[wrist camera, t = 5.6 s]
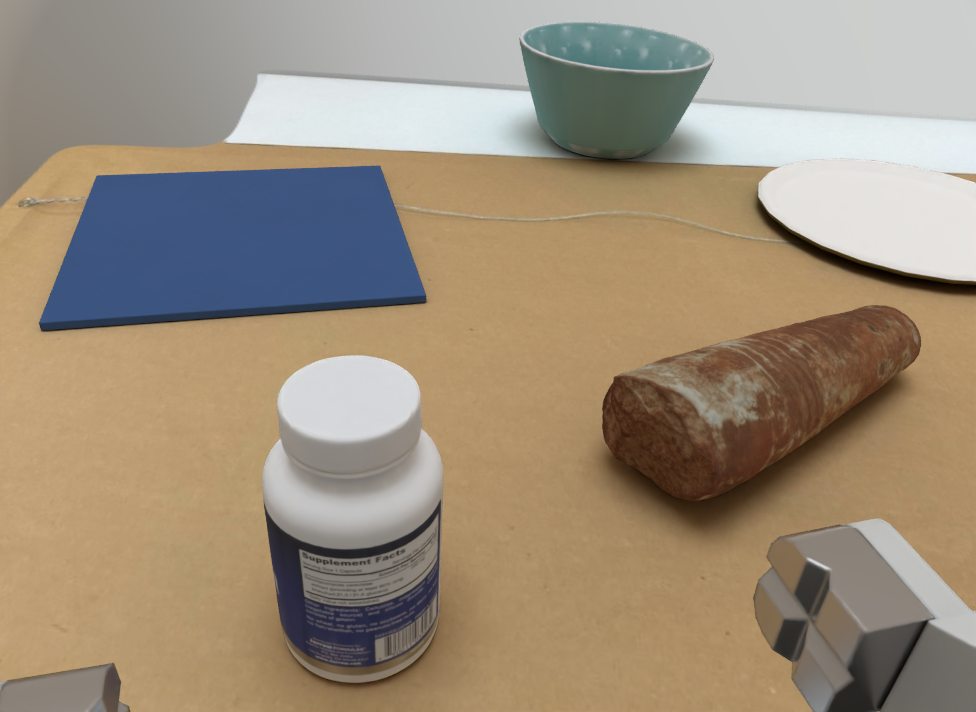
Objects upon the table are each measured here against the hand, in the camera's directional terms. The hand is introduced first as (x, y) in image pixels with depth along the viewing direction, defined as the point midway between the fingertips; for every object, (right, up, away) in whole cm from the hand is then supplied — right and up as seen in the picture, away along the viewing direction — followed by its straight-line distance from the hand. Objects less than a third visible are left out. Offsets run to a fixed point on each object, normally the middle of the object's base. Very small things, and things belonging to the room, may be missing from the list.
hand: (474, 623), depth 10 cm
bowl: (+10, +22, +61) cm, 65 cm away
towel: (-15, +11, +42) cm, 46 cm away
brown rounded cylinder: (+13, 0, +29) cm, 32 cm away
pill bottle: (-4, -6, +18) cm, 20 cm away
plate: (+30, +13, +49) cm, 59 cm away
